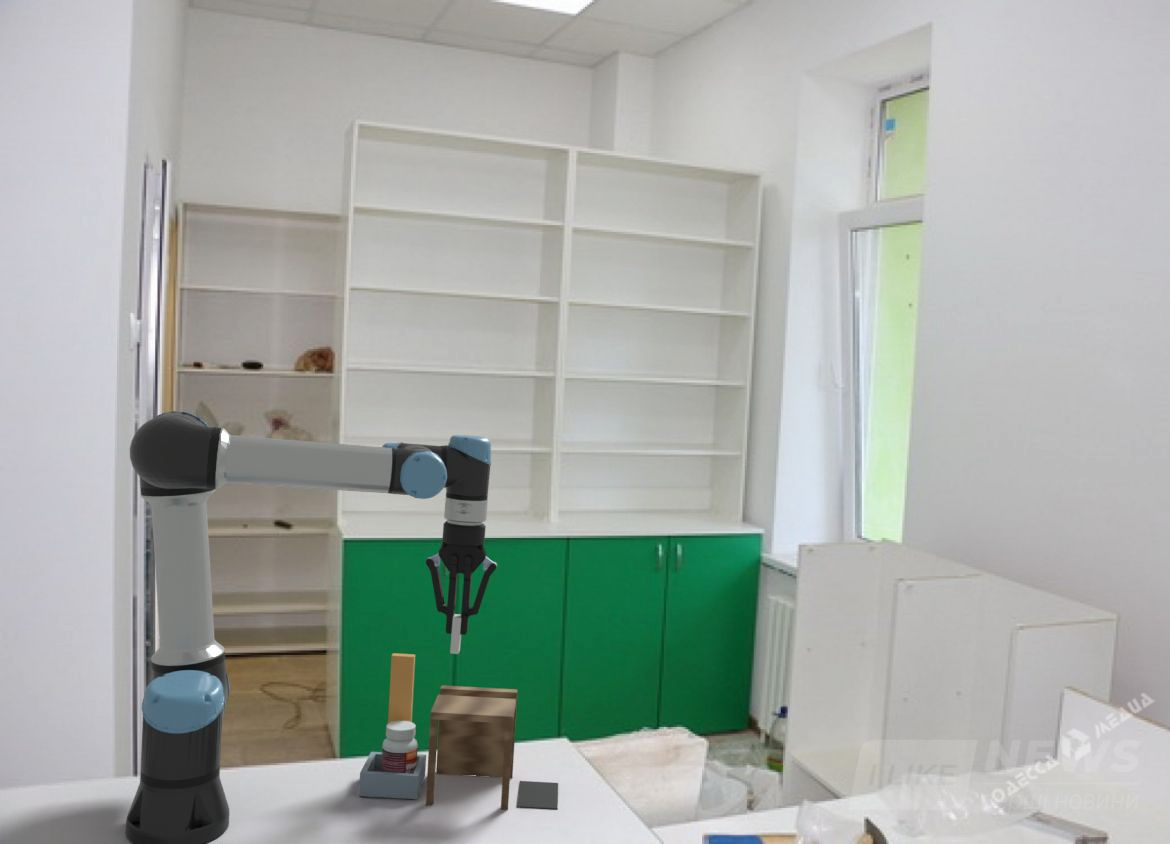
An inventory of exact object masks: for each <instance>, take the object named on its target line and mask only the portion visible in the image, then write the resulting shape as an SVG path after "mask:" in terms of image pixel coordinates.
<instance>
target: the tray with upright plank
mask: <svg viewBox="0 0 1170 844" xmlns="http://www.w3.org/2000/svg"><path fill="white" fill-rule="evenodd" d="M415 667H416V654H411V653H410V654H409V653H397V652H396V653H392V654H391V664H390V677H389V679H390V681H389V682H390V683H389V701H388V720H387V724H388V723H390V722H393V721H409V722H412V721H413V705H414V688H415V687H414V686H415V685H414V684H415ZM412 723H413V722H412ZM426 766H427V754H419V753H417V765H416V768H415V771H414V773H413V774H410V773H392V772H381V768H382V751H370V752H369V754H368V756H367V759H366V761H365V763H364V765H363V766H362V768H361V770H360V772H359V785H358V786H359V787H358V788H359V789H358V796H359V797H371V798H372V797H373V798H391V799H394V798H395V799H407V800H408V799H410V800H418V798H419V796H420V795H419V794H420V791H421V788H422V787H423V783H424V781H425V777H426V769H427V768H426Z"/></svg>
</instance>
